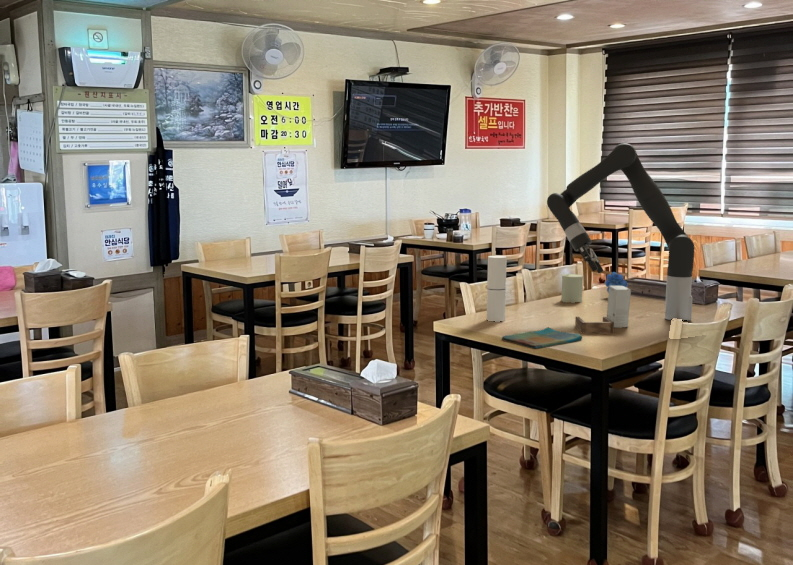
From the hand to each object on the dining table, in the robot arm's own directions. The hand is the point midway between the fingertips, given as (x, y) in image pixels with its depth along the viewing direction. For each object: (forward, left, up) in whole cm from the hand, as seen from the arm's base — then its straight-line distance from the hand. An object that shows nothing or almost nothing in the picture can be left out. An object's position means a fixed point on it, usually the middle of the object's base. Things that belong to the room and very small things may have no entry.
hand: (598, 271), depth 311 cm
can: (+1, -40, -19) cm, 44 cm away
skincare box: (-5, +13, -19) cm, 24 cm away
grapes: (-20, -47, -19) cm, 54 cm away
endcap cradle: (+6, +21, -19) cm, 29 cm away
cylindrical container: (+40, +4, -19) cm, 45 cm away
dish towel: (+28, +38, -20) cm, 52 cm away
